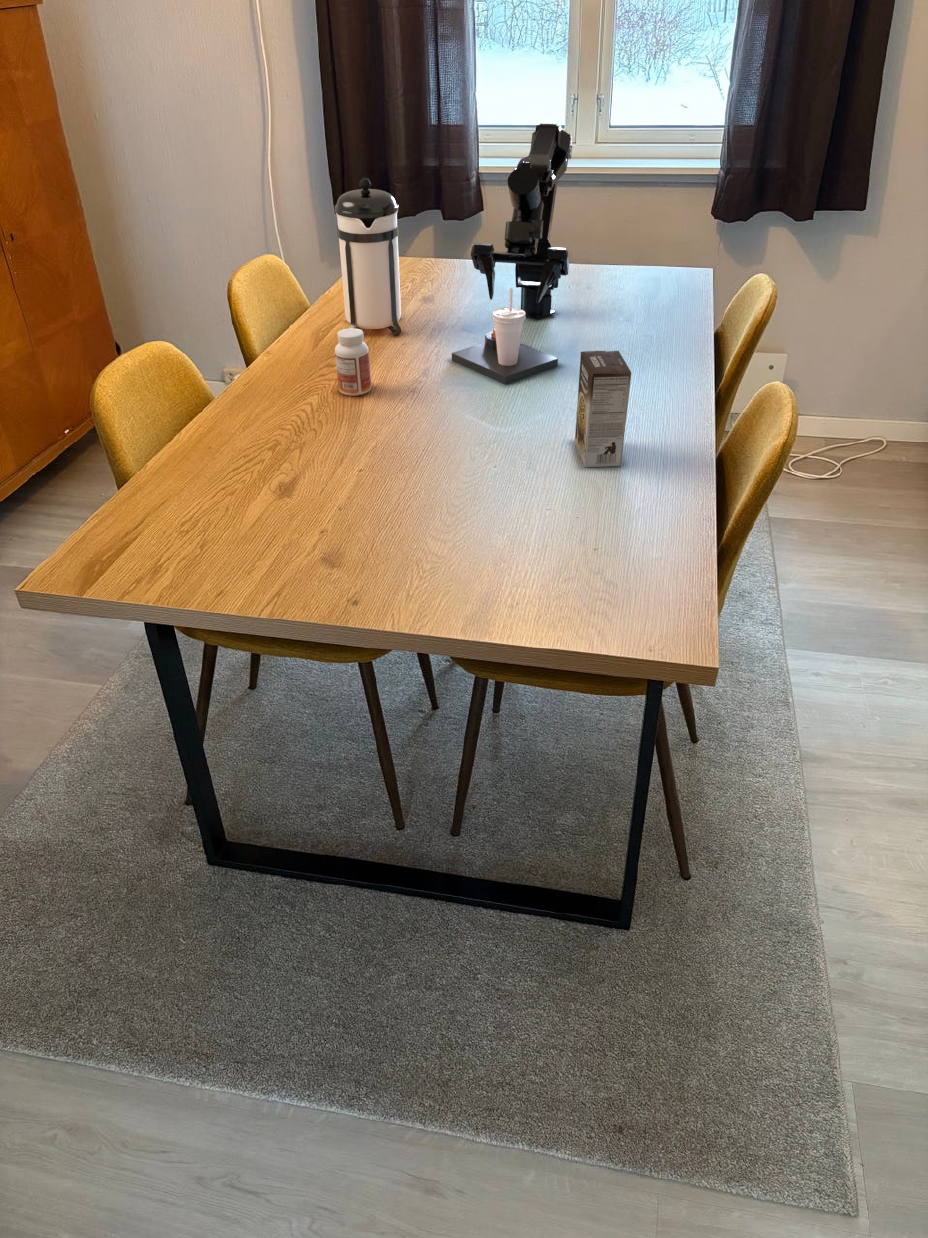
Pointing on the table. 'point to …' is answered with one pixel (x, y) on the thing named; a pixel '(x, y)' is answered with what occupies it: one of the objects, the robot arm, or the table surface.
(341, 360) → the pill bottle
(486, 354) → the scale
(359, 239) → the coffee press
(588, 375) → the coffee box
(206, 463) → the table surface
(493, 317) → the smoothie
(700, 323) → the table surface
